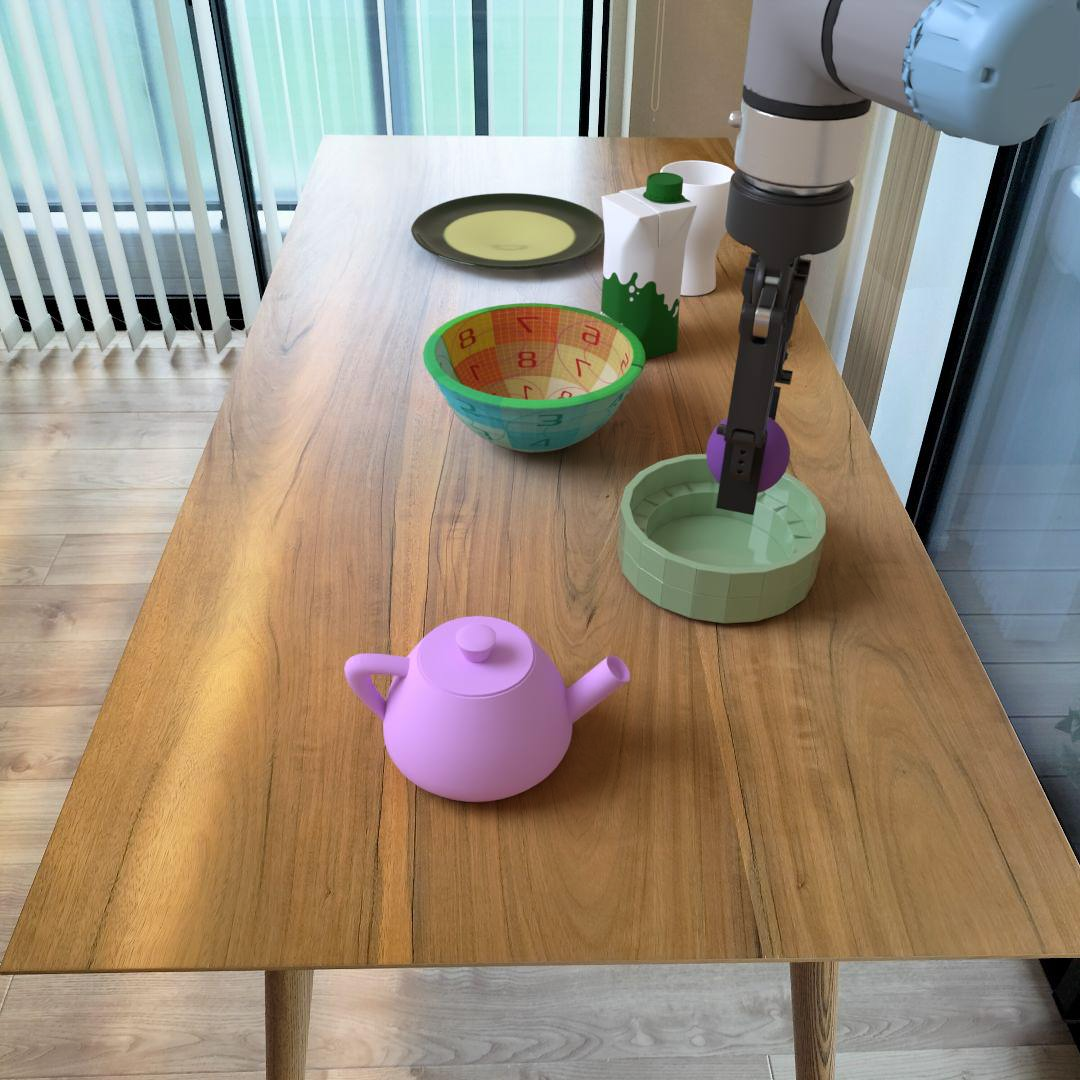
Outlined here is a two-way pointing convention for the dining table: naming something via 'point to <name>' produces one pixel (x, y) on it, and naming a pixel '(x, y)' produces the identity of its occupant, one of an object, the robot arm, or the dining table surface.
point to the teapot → (478, 708)
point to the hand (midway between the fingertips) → (742, 483)
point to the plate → (509, 231)
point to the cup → (703, 220)
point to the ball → (773, 457)
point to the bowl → (534, 372)
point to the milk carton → (646, 260)
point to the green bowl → (718, 544)
